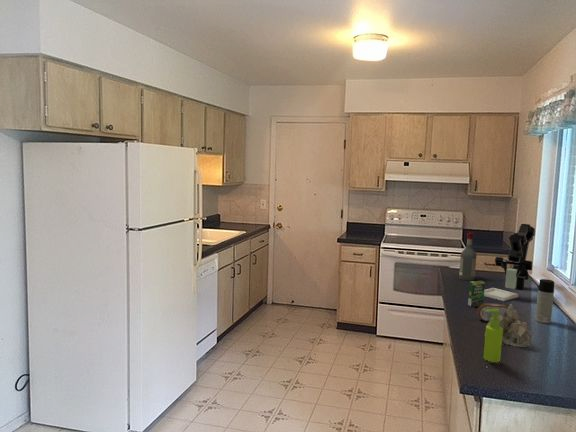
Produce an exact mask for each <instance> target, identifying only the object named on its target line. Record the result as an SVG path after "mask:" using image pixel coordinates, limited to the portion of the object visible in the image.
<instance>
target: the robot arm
mask: <svg viewBox="0 0 576 432" xmlns="http://www.w3.org/2000/svg"><path fill="white" fill-rule="evenodd" d="M535 235H536V228H535V227H533V226H531V224H529V223H521V224H520V226H519V228H518V231H517V232H514V233H513V234H511V235H509V238H508V239H509V245H510V246H509V247H510V250H508V255H507V256H508V257H507V259H504V257H503V256H496V257H495V259H494V265H495V267H501V268H502V269H503V270H504V271H503V272H504V276H506V270H507V268H508V265H511V266H512V268H511V269H518V271H517V274H516V277H517V282H516V288H515V289H516V290H519V291H521V290H525V289H527V287H525V281H527V280H529V271H533V261H532V260H527V257H528V251H529V246H530V243H531V242H532V241H533V239H534V236H535ZM515 289H514V290H515Z"/></svg>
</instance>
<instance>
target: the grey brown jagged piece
mask: <svg viewBox="0 0 576 432" xmlns="http://www.w3.org/2000/svg"><path fill="white" fill-rule="evenodd" d="M507 307H508V310H506V311H505V313H504V315H503V317H502V316H500V312H498V318H499V319H500V327H502V328H503V335H502V341H503V342H504V343H506V344H510V345H513V346H518V347H519V346H520V347H523V346H524V347H527V346H530V347H531V344H530V343H531V342H530V340H531V338H532V337H533V335H532V334H531V332H530V330H529V327H528V324H527V322H525V321H521V320H520V319H519V315H518V312H517V310H516V309H514V305H513V304H512V303H509V306H507ZM498 310H499V309H498ZM487 325H490V321H488V323H487V324H486V326H487ZM485 333H486V331H485V332H484V335H483V337H484V336H485ZM524 347H523V348H524Z"/></svg>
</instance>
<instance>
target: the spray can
mask: <svg viewBox="0 0 576 432" xmlns="http://www.w3.org/2000/svg"><path fill="white" fill-rule="evenodd" d="M554 293H555V281H554V280H552V279H546V278H543V279H542V278H541V279H539V283H538V289H537V299H536V308H535V316H534V317H535V318H534V319H535V322H538V323H541V324H550V323H551V321H552V316H553V315H552V312H553V305H554V296H555V295H554Z"/></svg>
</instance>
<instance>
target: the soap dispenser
mask: <svg viewBox="0 0 576 432" xmlns="http://www.w3.org/2000/svg"><path fill="white" fill-rule="evenodd" d="M485 311H486V312H488V313H489V312H493V317H491V318H490V321H489V322H490V325H487V324H486V326H485V332H486V333H485V332H484V335H485V337H484V346H483V349H484V350H483V358H484V359H485V360H488V361H491V362H499V361H500V362H501V355H502V345H503V344H502V335H503V328H502V327H500V319H499V318H498V312H501V311H500V310H498V309H487V310H485Z"/></svg>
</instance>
